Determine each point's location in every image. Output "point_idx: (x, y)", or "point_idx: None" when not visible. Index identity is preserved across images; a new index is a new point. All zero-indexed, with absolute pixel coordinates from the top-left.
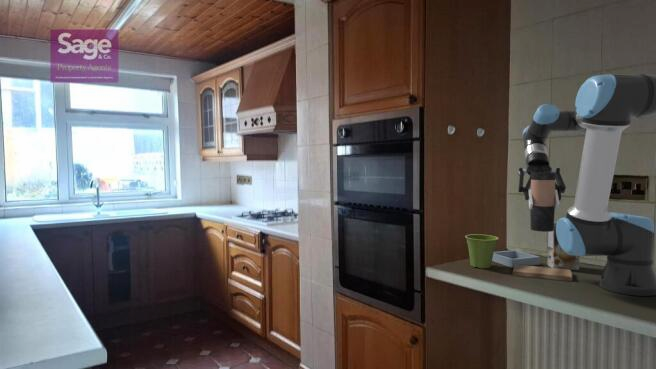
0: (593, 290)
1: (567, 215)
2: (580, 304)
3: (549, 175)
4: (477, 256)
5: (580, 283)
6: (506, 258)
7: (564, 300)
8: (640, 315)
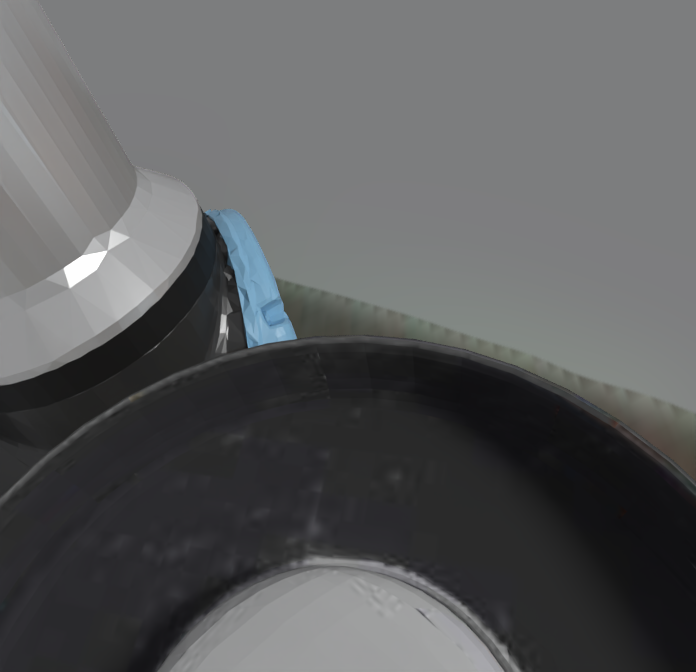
0: None
1: (210, 235)
2: (289, 293)
3: (155, 427)
4: None
5: None
6: None
7: (335, 309)
8: None
